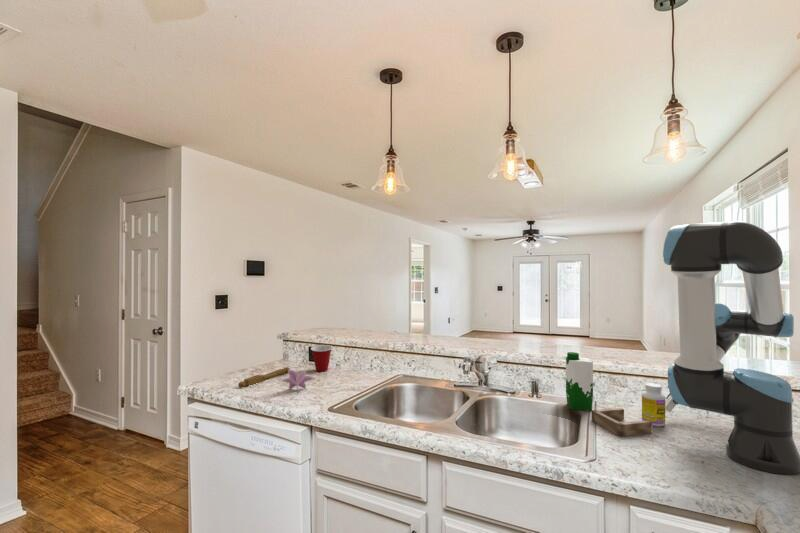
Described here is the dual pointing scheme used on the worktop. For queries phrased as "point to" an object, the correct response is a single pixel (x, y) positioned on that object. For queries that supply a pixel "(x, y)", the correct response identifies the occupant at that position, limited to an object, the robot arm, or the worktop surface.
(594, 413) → the walnut dock
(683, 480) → the worktop surface
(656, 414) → the supplement bottle
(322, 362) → the plastic cup
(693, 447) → the worktop surface
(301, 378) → the lily
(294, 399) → the worktop surface
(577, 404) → the milk carton
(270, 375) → the tap handle
